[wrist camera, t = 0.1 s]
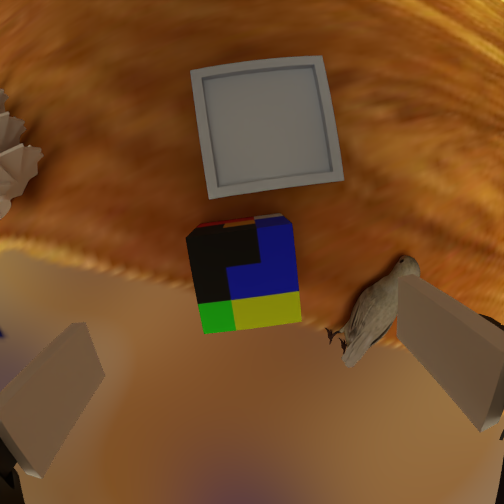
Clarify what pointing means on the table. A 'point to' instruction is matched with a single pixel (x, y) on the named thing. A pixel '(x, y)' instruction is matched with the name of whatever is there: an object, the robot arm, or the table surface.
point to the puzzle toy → (245, 273)
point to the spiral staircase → (14, 158)
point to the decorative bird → (374, 312)
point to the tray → (266, 125)
